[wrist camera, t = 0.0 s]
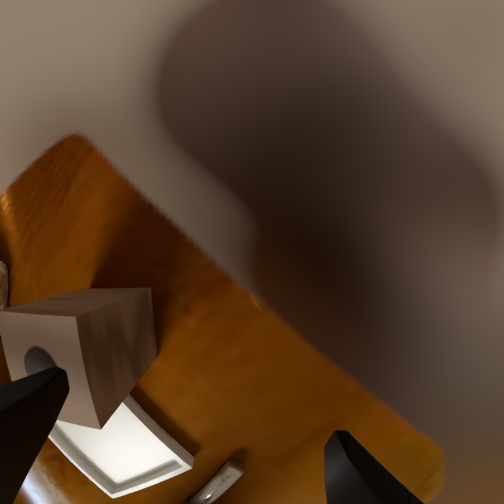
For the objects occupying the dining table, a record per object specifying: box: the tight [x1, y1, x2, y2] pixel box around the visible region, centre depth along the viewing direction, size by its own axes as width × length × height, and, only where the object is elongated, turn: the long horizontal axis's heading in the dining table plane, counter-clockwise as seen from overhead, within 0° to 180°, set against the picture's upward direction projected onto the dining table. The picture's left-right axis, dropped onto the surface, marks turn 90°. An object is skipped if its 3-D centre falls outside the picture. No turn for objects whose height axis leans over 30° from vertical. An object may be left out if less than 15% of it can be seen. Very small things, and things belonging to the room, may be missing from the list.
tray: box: [48, 394, 194, 498], centre depth 22 cm, size 13×13×2 cm
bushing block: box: [0, 288, 158, 430], centre depth 17 cm, size 6×6×12 cm
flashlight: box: [184, 460, 245, 504], centre depth 22 cm, size 11×3×3 cm, turn 148°
